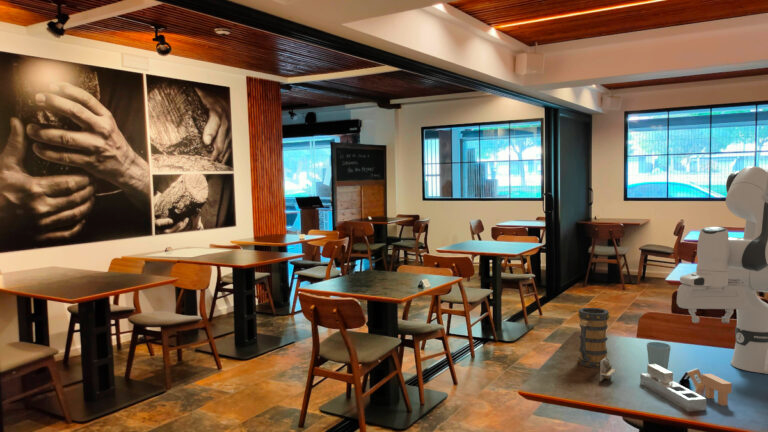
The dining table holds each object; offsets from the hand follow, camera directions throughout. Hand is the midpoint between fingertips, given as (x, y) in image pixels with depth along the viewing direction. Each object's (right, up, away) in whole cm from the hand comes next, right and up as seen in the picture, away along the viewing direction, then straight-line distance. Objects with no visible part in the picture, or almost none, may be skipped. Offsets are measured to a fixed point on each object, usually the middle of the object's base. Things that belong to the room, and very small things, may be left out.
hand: (710, 322), depth 181 cm
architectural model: (-26, -24, +19) cm, 40 cm away
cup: (-5, -23, +24) cm, 33 cm away
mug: (-25, -22, +35) cm, 48 cm away
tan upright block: (+1, -24, -2) cm, 24 cm away
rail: (-11, -24, +2) cm, 26 cm away
